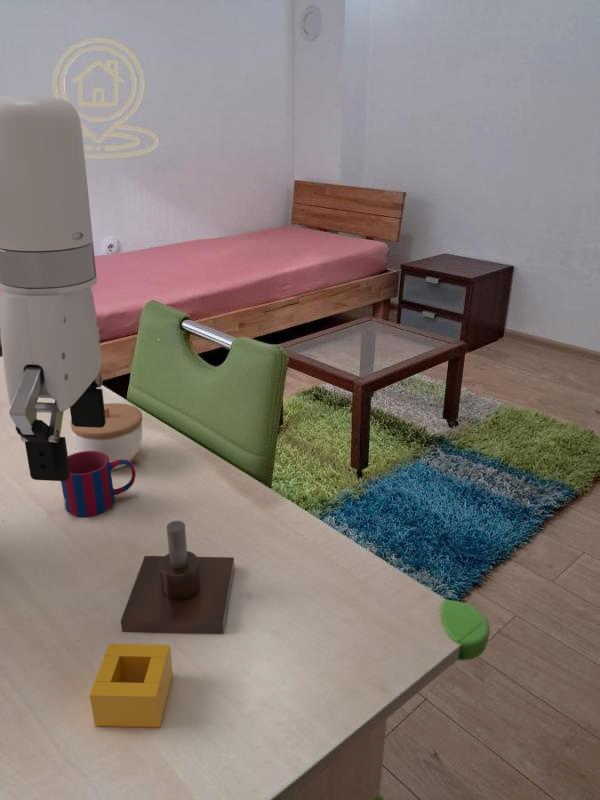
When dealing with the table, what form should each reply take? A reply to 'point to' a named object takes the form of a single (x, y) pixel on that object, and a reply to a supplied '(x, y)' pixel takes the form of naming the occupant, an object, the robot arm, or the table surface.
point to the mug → (91, 483)
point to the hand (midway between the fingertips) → (71, 450)
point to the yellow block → (132, 685)
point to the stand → (179, 590)
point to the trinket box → (113, 433)
